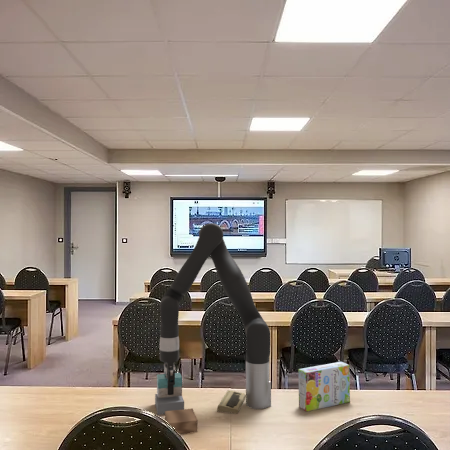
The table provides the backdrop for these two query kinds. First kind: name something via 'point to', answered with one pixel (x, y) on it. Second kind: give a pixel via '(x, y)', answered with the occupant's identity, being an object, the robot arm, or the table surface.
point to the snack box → (324, 386)
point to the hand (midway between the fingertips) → (169, 391)
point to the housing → (163, 387)
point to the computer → (231, 402)
